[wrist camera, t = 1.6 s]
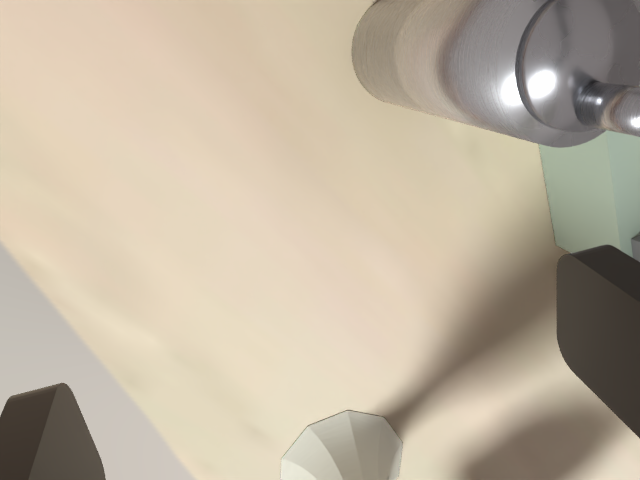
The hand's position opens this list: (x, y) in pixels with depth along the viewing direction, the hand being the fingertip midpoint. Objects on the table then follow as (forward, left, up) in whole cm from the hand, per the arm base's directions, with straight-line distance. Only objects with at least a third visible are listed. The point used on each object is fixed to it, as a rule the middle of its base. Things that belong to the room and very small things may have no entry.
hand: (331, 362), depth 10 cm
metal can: (-1, +12, -23) cm, 26 cm away
